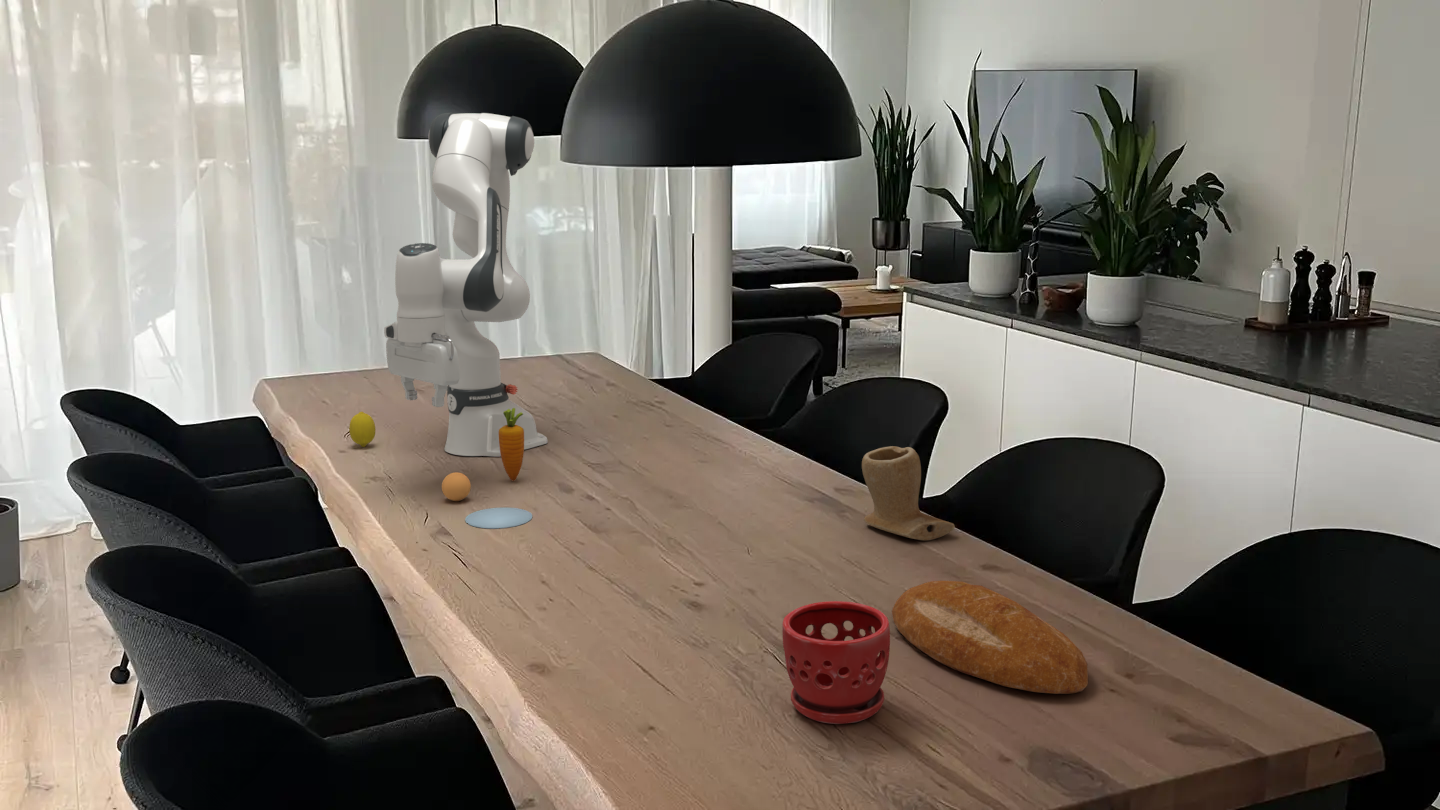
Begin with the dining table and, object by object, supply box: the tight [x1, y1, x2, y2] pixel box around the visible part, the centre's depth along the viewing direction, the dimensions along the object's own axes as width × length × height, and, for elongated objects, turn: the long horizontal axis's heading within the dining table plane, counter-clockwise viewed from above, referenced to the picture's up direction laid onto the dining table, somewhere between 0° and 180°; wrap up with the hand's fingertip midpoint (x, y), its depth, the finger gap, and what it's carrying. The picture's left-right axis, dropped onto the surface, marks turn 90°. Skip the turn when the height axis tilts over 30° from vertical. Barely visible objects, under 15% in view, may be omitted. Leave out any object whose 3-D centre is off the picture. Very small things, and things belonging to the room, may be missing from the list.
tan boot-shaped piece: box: [861, 445, 956, 541], centre depth 233 cm, size 15×12×15 cm
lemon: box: [348, 411, 376, 448], centre depth 293 cm, size 6×6×8 cm
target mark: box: [464, 506, 533, 530], centre depth 244 cm, size 12×12×1 cm
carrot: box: [499, 408, 525, 482], centre depth 265 cm, size 5×5×15 cm
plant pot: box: [781, 600, 891, 725], centre depth 166 cm, size 13×13×12 cm
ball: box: [441, 471, 472, 502], centre depth 254 cm, size 5×5×5 cm
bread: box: [891, 580, 1089, 695], centre depth 183 cm, size 18×35×9 cm, turn 30°
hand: (424, 403), depth 256 cm, fingers open, 8 cm apart
